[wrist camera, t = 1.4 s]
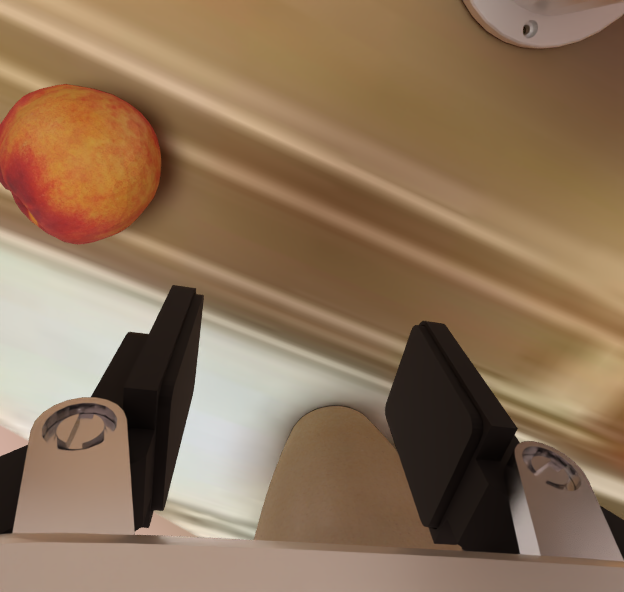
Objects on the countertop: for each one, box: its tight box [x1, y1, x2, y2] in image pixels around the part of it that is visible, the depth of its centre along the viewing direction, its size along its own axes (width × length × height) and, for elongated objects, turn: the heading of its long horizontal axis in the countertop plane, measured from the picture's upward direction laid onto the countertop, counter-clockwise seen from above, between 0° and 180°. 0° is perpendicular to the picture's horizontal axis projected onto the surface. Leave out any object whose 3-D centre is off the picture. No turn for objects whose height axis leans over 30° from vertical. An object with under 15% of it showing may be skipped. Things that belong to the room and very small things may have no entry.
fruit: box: [0, 84, 161, 244], centre depth 23 cm, size 8×8×8 cm
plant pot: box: [254, 406, 462, 551], centre depth 32 cm, size 15×15×16 cm
